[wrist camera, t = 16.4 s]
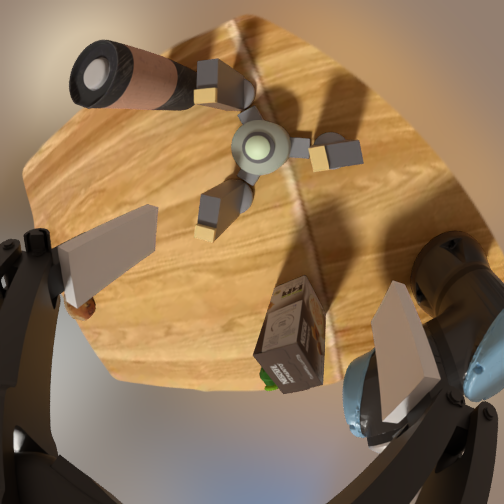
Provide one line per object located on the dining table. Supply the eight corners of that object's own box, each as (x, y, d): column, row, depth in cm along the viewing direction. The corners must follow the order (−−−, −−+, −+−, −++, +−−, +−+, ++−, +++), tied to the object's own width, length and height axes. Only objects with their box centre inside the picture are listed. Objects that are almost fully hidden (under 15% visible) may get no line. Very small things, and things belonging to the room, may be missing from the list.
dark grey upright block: (345, 129, 33) (356, 126, 22) (352, 165, 35) (367, 178, 24) (309, 135, 35) (304, 134, 24) (317, 171, 36) (316, 185, 26)
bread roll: (78, 279, 65) (56, 292, 60) (84, 282, 58) (59, 297, 53) (93, 308, 68) (73, 322, 63) (102, 315, 61) (79, 331, 56)
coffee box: (272, 287, 46) (249, 353, 32) (306, 273, 44) (296, 340, 29) (295, 326, 48) (282, 395, 34) (328, 315, 46) (325, 386, 32)
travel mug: (196, 60, 33) (111, 24, 15) (211, 100, 36) (126, 82, 18) (157, 81, 36) (63, 67, 18) (170, 119, 38) (75, 123, 20)
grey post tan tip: (220, 79, 34) (183, 61, 23) (255, 77, 33) (229, 55, 22) (220, 111, 36) (182, 104, 25) (254, 110, 35) (228, 101, 24)
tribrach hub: (320, 131, 34) (321, 130, 28) (290, 200, 39) (284, 212, 33) (244, 102, 35) (229, 96, 29) (219, 170, 40) (201, 177, 34)
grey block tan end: (223, 176, 40) (187, 192, 29) (256, 183, 39) (231, 202, 29) (217, 208, 42) (183, 234, 32) (249, 216, 42) (224, 246, 31)
